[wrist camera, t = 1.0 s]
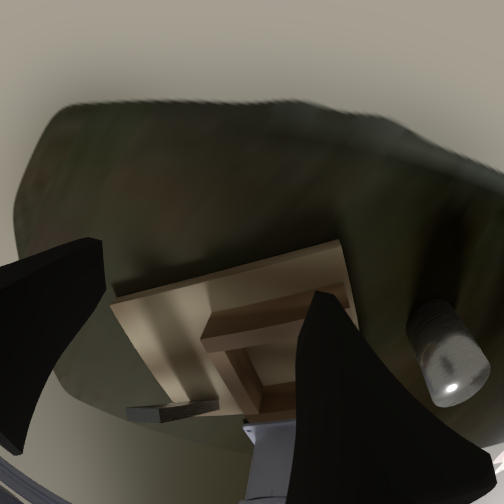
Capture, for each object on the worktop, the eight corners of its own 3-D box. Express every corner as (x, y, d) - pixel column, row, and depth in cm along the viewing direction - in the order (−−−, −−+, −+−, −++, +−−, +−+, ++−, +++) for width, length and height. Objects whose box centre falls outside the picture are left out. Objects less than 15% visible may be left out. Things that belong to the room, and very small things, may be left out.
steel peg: (452, 334, 20) (483, 392, 14) (406, 350, 21) (429, 414, 15) (454, 292, 19) (495, 349, 12) (404, 308, 20) (435, 374, 13)
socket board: (367, 383, 23) (373, 419, 19) (187, 407, 28) (176, 438, 24) (338, 238, 18) (349, 267, 15) (116, 297, 23) (90, 326, 19)
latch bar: (218, 399, 24) (219, 409, 24) (190, 400, 25) (191, 410, 25) (158, 408, 16) (160, 423, 16) (125, 407, 17) (127, 420, 17)
